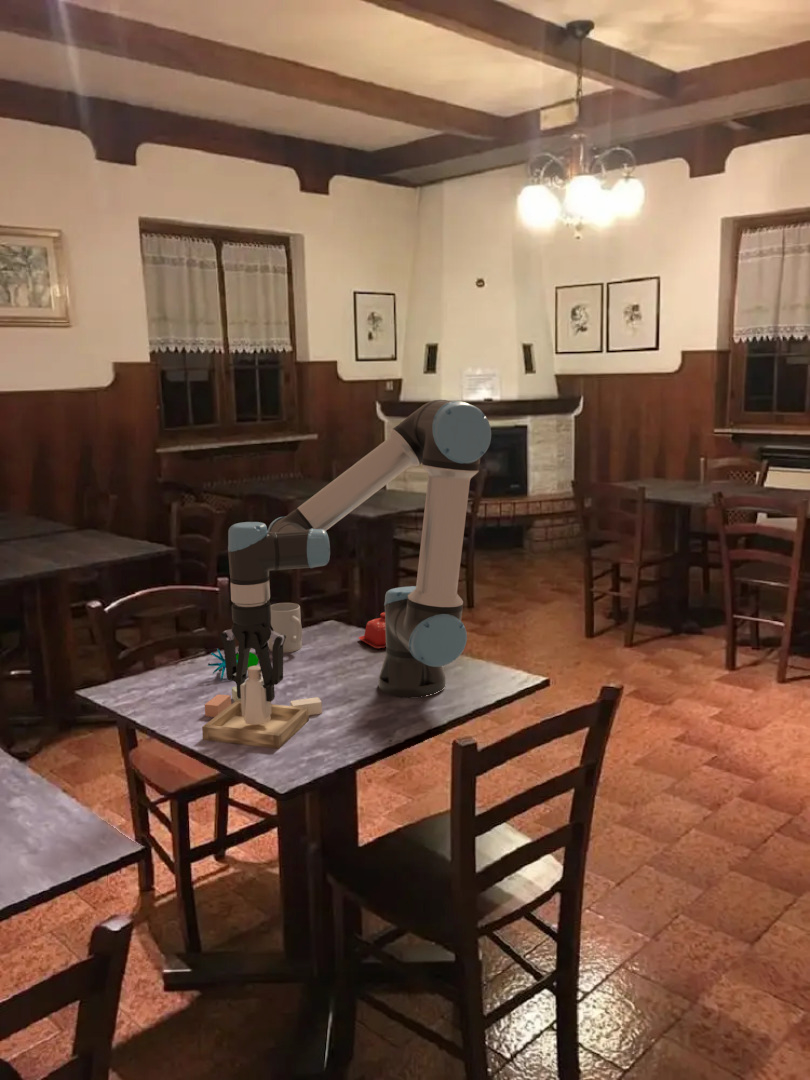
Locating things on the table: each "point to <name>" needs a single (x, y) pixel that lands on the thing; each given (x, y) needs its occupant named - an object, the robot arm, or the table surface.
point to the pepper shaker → (254, 697)
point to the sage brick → (235, 694)
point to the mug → (287, 625)
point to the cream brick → (309, 705)
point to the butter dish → (375, 632)
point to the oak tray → (256, 726)
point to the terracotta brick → (217, 705)
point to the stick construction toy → (251, 662)
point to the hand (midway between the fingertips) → (256, 714)
